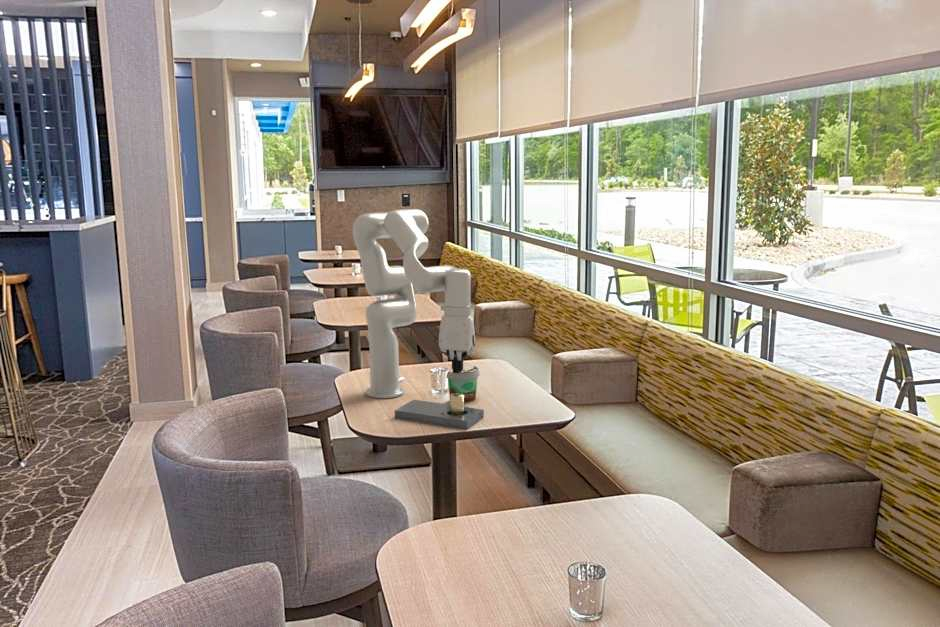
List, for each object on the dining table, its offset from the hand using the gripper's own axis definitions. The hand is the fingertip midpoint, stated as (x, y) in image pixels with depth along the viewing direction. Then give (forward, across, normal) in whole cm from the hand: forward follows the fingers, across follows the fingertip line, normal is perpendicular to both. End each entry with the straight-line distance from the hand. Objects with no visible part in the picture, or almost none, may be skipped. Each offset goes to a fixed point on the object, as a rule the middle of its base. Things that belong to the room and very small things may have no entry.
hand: (457, 372), depth 228 cm
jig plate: (+15, -6, 0) cm, 16 cm away
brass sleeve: (+15, 0, 0) cm, 15 cm away
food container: (+15, -6, +20) cm, 26 cm away
